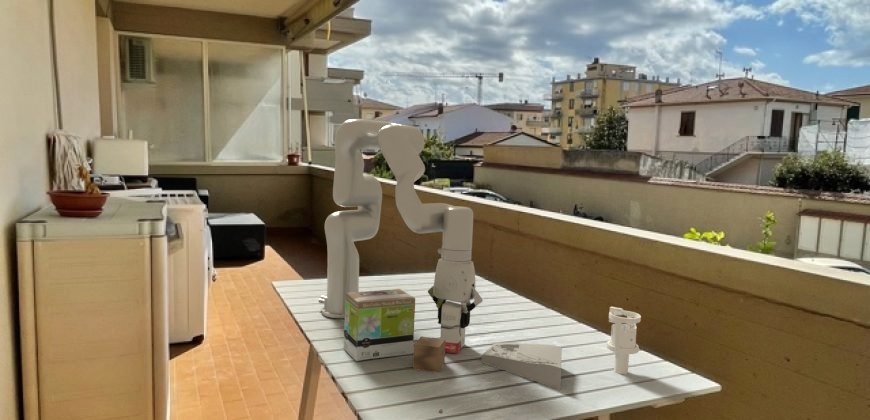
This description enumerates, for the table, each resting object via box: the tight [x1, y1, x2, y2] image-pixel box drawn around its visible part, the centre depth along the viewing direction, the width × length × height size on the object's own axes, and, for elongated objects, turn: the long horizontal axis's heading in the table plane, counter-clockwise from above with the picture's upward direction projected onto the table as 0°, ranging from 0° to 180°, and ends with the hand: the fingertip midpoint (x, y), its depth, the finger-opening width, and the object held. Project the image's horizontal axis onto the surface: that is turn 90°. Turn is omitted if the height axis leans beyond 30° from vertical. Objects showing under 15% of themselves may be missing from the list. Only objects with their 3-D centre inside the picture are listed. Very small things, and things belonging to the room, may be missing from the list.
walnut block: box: [412, 336, 446, 373], centre depth 130 cm, size 6×6×6 cm
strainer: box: [606, 306, 642, 375], centre depth 130 cm, size 7×7×15 cm
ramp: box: [481, 342, 563, 391], centre depth 132 cm, size 28×16×5 cm, turn 27°
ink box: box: [439, 300, 466, 355], centre depth 143 cm, size 9×5×12 cm, turn 164°
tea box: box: [343, 288, 416, 362], centre depth 138 cm, size 15×10×15 cm
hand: (453, 323), depth 143 cm, fingers closed on ink box, 5 cm apart
